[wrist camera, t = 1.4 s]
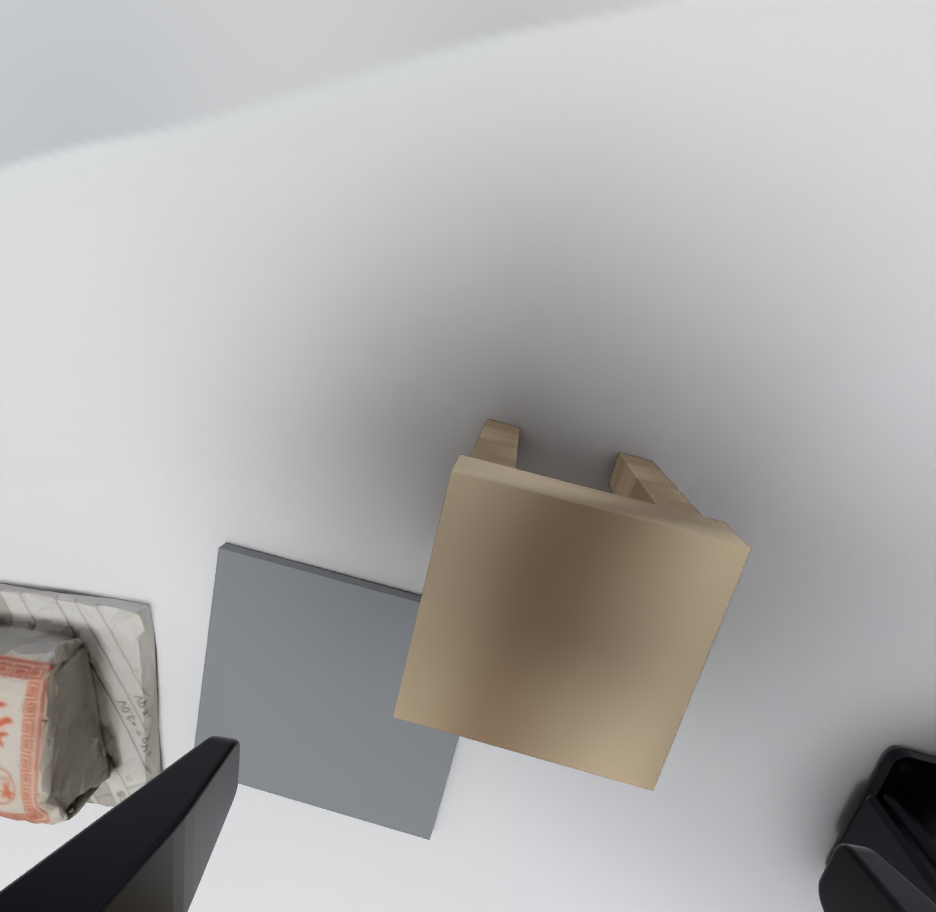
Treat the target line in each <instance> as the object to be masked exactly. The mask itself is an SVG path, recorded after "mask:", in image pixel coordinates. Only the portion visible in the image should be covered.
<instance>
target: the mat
mask: <svg viewBox="0 0 936 912" xmlns="http://www.w3.org/2000/svg"><path fill="white" fill-rule="evenodd" d="M421 597H422V596H419V595H415V594H411V593H408V592H404V591H400V590H397V589H393V588H389V587H386V586H382V585H378V584H375V583H371V582H367V581H364V580H360V579H356V578H353V577H349V576H345V575H342V574H338V573H334V572H331V571H327V570H323V569H320V568H316V567H312V566H309V565H305V564H301V563H298V562H294V561H290V560H286V559H283V558H279V557H275V556H272V555H268V554H264V553H261V552H257V551H253V550H250V549H246V548H242V547H239V546H235V545H231V544H228V543H225V544H224V545H222V546H221V547H219V550H218V558H217V566H216V574H215V582H214V590H213V599H212V607H211V615H210V623H209V631H208V639H207V648H206V656H205V664H204V672H203V680H202V688H201V696H200V705H199V713H198V721H197V729H196V737H195V745H194V748H195V747H196V746H197V745H199V744H200V743H201V742H203V741H204V740H205V739H207V738H209V737H211V736H221V737H227V738H233V739H236V740H238V741H239V744H240V758H239V776H238V783H239V784H242V785H246V786H249V787H252V788H256V789H259V790H263V791H266V792H269V793H273V794H276V795H279V796H283V797H286V798H290V799H293V800H296V801H300V802H303V803H306V804H310V805H313V806H317V807H320V808H323V809H327V810H330V811H334V812H337V813H340V814H344V815H347V816H350V817H354V818H357V819H361V820H364V821H367V822H371V823H374V824H377V825H381V826H384V827H388V828H391V829H394V830H398V831H401V832H404V833H408V834H411V835H415V836H418V837H421V838H425V839H428V840H430V837H431V834H432V830H433V826H434V823H435V819H436V816H437V812H438V808H439V805H440V801H441V798H442V794H443V790H444V787H445V783H446V780H447V776H448V772H449V769H450V765H451V761H452V758H453V754H454V751H455V747H456V743H457V740H458V735H455V734H451V733H448V732H444V731H441V730H437V729H434V728H430V727H427V726H423V725H420V724H416V723H413V722H409V721H406V720H402V719H399V718H395V717H393V716H394V711H395V707H396V703H397V699H398V694H399V690H400V686H401V682H402V677H403V673H404V669H405V665H406V660H407V656H408V652H409V648H410V644H411V639H412V635H413V631H414V627H415V622H416V618H417V614H418V610H419V605H420V601H421Z"/></svg>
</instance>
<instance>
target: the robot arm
mask: <svg viewBox="0 0 936 912" xmlns="http://www.w3.org/2000/svg"><path fill="white" fill-rule="evenodd" d="M239 758H240V744H239V741H238V740H236V739H233V738H227V737H221V736H211V737H209V738H207V739H205V740H204V741H203V742H201V743H200V744H199V745H197V746H196V747H195V748H193V749H192V750H191V751H189V752H188V753H187V754H185V755H184V756H183V757H181V758H180V759H178V760H177V761H176V762H174V763H173V764H172V765H170V766H169V767H168V768H166V769H165V770H164V771H162V772H161V773H160V774H158V775H157V776H156V777H154V778H153V779H151V780H150V781H149V782H147V783H146V784H145V785H143V786H142V787H141V788H139V789H138V790H137V791H135V792H134V793H133V794H131V795H130V796H128V797H127V798H126V799H124V800H123V801H122V802H120V803H119V804H118V805H116V806H115V807H114V808H112V809H111V810H110V811H108V812H107V813H106V814H104V815H103V816H101V817H100V818H99V819H97V820H96V821H95V822H93V823H92V824H91V825H89V826H88V827H87V828H85V829H84V830H83V831H81V832H80V833H79V834H77V835H76V836H74V837H73V838H72V839H70V840H69V841H68V842H66V843H65V844H64V845H62V846H61V847H60V848H58V849H57V850H56V851H54V852H53V853H51V854H50V855H49V856H47V857H46V858H45V859H43V860H42V861H41V862H39V863H38V864H37V865H35V866H34V867H33V868H31V869H30V870H29V871H27V872H26V873H24V874H23V875H22V876H20V877H19V878H18V879H16V880H15V881H14V882H12V883H11V884H10V885H8V886H7V887H6V888H4V889H3V890H2V891H0V912H187V911H188V909H189V907H190V904H191V902H192V900H193V897H194V895H195V892H196V890H197V887H198V885H199V883H200V880H201V878H202V875H203V873H204V870H205V868H206V865H207V863H208V861H209V858H210V856H211V853H212V851H213V848H214V846H215V844H216V841H217V839H218V836H219V834H220V831H221V829H222V827H223V824H224V822H225V819H226V817H227V814H228V812H229V809H230V807H231V805H232V802H233V800H234V797H235V794H236V790H237V786H238V776H239ZM903 763H905V764H903ZM901 764H903V765H901ZM819 897H820V901H821V904H822V907H823V910H824V912H936V758H935V757H931V756H928V755H924V754H920V753H917V752H913V751H910V750H906V749H896V750H893V751H891V752H889V753H888V755H887V756H886V757H885V759H884V761H883V763H882V765H881V767H880V769H879V770H878V772H877V774H876V776H875V778H874V780H873V782H872V783H871V785H870V787H869V789H868V791H867V793H866V795H865V797H864V798H863V800H862V802H861V804H860V806H859V808H858V810H857V812H856V813H855V815H854V817H853V819H852V821H851V823H850V825H849V826H848V828H847V830H846V832H845V834H844V836H843V838H842V840H841V841H840V843H839V845H838V846H837V847H836V848H835V850H834V852H833V854H832V856H831V858H830V860H829V862H828V864H827V866H826V868H825V870H824V872H823V874H822V876H821V878H820V881H819Z"/></svg>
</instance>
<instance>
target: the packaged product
mask: <svg viewBox="0 0 936 912" xmlns="http://www.w3.org/2000/svg"><path fill="white" fill-rule="evenodd" d="M160 773H161V763H160V742H159V727H158V696H157V678H156V660H155V639H154V629H153V622H152V616H151V610H150V605H148V604H142V603H136V602H131V601H125V600H120V599H114V598H104V597H94V596H85V595H75V594H65V593H57V592H52V591H47V590H38V589H32V588H26V587H21V586H15V585H9V584H3V583H0V816H2V817H6V818H10V819H14V820H26V821H28V822H31V823H34V824H38V823H45V824H50V825H54V824H56V823H59V822H62V821H66V820H69V819H71V818H72V817H73V816H75V815H76V814H77V813H78V812H79V811H80V809H81V808H82V807H83V806H84V805H85V803H86V802H88V803H96V804H101V805H104V806H107V807H108V806H114V807H115V806H116V805H118V804H119V803H120V802H122V801H123V800H124V799H126V798H127V797H128V796H130V795H131V794H133V793H134V792H135V791H137V790H138V789H139V788H141V787H142V786H143V785H145V784H146V783H147V782H149V781H150V780H151V779H153V778H154V777H156V776H157V775H158V774H160Z"/></svg>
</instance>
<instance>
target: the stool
mask: <svg viewBox="0 0 936 912" xmlns="http://www.w3.org/2000/svg"><path fill="white" fill-rule="evenodd" d="M519 429H520V427H516V426H512V425H508V424H504V423H500V422H496V421H492V420H489V419H487V420H486V423H485V425H484V427H483V429H482V431H481V433H480V436H479V438H478V440H477V442H476V444H475V447H474V449H473V451H472V453H471V455H470V457H468V456H464V455H460V456H459V457H458V459H457V461H456V463H455V465H454V467H453V469H452V470H451V474H450V478H449V483H448V487H447V491H446V495H445V500H444V504H443V508H442V512H441V517H440V521H439V525H438V529H437V533H436V538H435V542H434V546H433V550H432V555H431V559H430V563H429V567H428V572H427V576H426V580H425V584H424V589H423V593H422V597H421V601H420V605H419V610H418V614H417V618H416V622H415V627H414V631H413V635H412V639H411V644H410V648H409V652H408V656H407V660H406V665H405V669H404V673H403V677H402V682H401V686H400V690H399V694H398V699H397V703H396V707H395V711H394V716H393V717H395V718H399V719H402V720H406V721H409V722H413V723H416V724H420V725H423V726H427V727H430V728H434V729H437V730H441V731H444V732H448V733H451V734H455V735H458V736H462V737H465V738H469V739H472V740H476V741H479V742H483V743H486V744H490V745H493V746H497V747H500V748H504V749H507V750H511V751H514V752H518V753H521V754H525V755H528V756H532V757H535V758H539V759H542V760H546V761H549V762H553V763H556V764H560V765H564V766H567V767H571V768H574V769H578V770H581V771H585V772H588V773H592V774H595V775H599V776H602V777H606V778H609V779H613V780H616V781H620V782H623V783H627V784H630V785H634V786H637V787H641V788H644V789H648V790H651V791H653V790H654V787H655V785H656V783H657V780H658V778H659V775H660V773H661V770H662V768H663V765H664V763H665V760H666V758H667V755H668V753H669V750H670V748H671V746H672V743H673V741H674V738H675V736H676V733H677V731H678V728H679V726H680V723H681V721H682V718H683V716H684V713H685V711H686V708H687V706H688V704H689V701H690V699H691V696H692V694H693V691H694V689H695V686H696V684H697V681H698V679H699V676H700V674H701V671H702V669H703V667H704V664H705V662H706V659H707V657H708V654H709V652H710V649H711V647H712V644H713V642H714V639H715V637H716V634H717V632H718V629H719V627H720V625H721V622H722V620H723V617H724V615H725V612H726V610H727V607H728V605H729V602H730V600H731V597H732V595H733V592H734V590H735V587H736V585H737V583H738V580H739V578H740V575H741V573H742V570H743V568H744V565H745V563H746V560H747V558H748V555H749V553H750V550H751V548H750V547H749V546H748V545H747V544H746V543H745V542H744V541H743V540H742V539H741V538H740V537H739V536H738V535H737V534H736V533H735V532H734V531H733V530H732V529H731V528H730V527H729V526H728V525H727V524H726V523H725V522H721V521H717V520H713V519H709V518H705V517H703V516H702V515H701V514H700V512H699V511H698V510H697V509H696V508H695V507H694V506H693V505H692V504H691V503H690V502H689V500H688V499H687V498H686V497H685V496H684V495H683V494H682V493H681V492H680V491H679V490H678V488H677V487H676V486H675V485H674V484H673V483H672V482H671V481H670V480H669V479H668V478H667V476H666V475H665V474H664V473H663V472H662V471H661V470H660V469H659V468H658V467H657V466H656V464H655V463H654V462H653V461H651V460H647V459H643V458H639V457H635V456H631V455H627V454H623V453H618V457H617V460H616V463H615V466H614V469H613V472H612V475H611V478H610V482H609V485H610V487H611V489H612V491H613V493H614V494H612V493H608V492H604V491H600V490H597V489H593V488H589V487H585V486H581V485H577V484H573V483H569V482H565V481H562V480H558V479H554V478H550V477H546V476H542V475H538V474H534V473H530V472H527V471H523V470H519V469H516V460H517V450H518V440H519Z"/></svg>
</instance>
